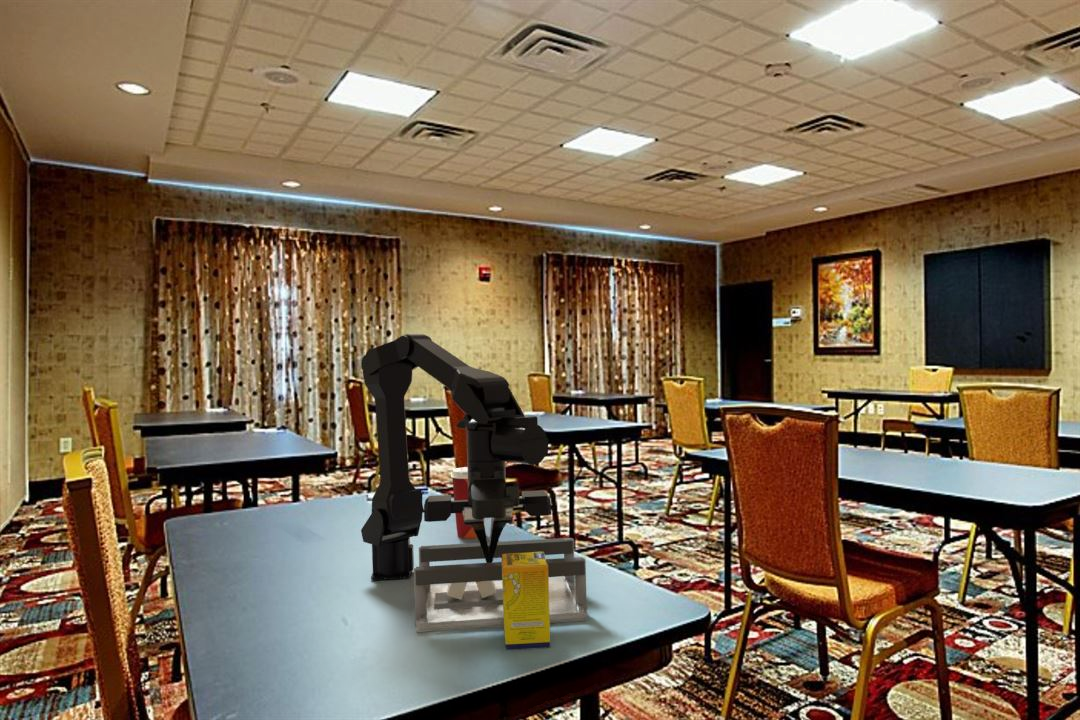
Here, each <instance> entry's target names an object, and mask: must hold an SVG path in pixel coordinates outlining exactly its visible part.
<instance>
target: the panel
mask: <svg viewBox="0 0 1080 720" xmlns="http://www.w3.org/2000/svg"><path fill="white" fill-rule="evenodd" d="M548 580H549V616H550V624H555V623H569V622H570V623H571V622H583V621H584V622H585V621H588V620H589V615H588V613H589V612H588V609H587V610H586V608H584V606H583V604H577V607H576V598H575V585H574V583H572V581H571V580H566V583H565V576H559V577H548ZM494 584H495V588H496V593H494V594H492V595H489V596H487V597H485V598H482V597H481V594H480V592H479V589H478V587H477V584H476V582H467V584H466V587H465V590H464V593H463V596H462V599H461V600H460V599H457V598H453V597H450V596H447V590H448V586H449V583H447V584H431V585H430V591H429V589H426V612H427V617H426V614H424V615H420V617H419V619H417V622H416V626H415V627H416V628H415V631H416V633H423V632H424V633H425V632H426V633H427V632H439V631H442V632H443V631H452V630H453V631H454V630H455V631H456V630H468V629H470V630H471V629H484V628H497V627H504V614H503V585H502V580H495V581H494Z"/></svg>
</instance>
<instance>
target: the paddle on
mask: <svg viewBox="0 0 1080 720" xmlns="http://www.w3.org/2000/svg"><path fill="white" fill-rule="evenodd" d="M467 583H468V582H463V583H448V584H449V586H448V590H447V596H450V597H453V598H457V599H460V600H461V599H462V596H463V593H464V590H465V587H466V584H467Z"/></svg>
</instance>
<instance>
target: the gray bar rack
mask: <svg viewBox="0 0 1080 720" xmlns="http://www.w3.org/2000/svg"><path fill="white" fill-rule="evenodd" d="M574 541H575V540H574V538H572V537H561V538H558V537H557V538H544V539H543V538H541V539H523V540H506V541H505V540H504V541H498V543H497V547H496V550H495V554H494V557H493V559H499V558H500V559H502V554H509V553H529V552H544V554H545V556H553V555H563V557H561V558H545V559H546V563H547V564H548V578H555V577H564V576H565V583H566V580H571V581H572V583H574V585H575V598H576V607H577V604H583V606H584V608H586V610H587V611H588V607H587V605H588V604H587V602H588V601H587V597H588V596H587V569H586V568H587V565H586V562H587V561H586V558H585V557H582V556H581V557H580V556H577V557H576V556H575V546H574V544H575V543H574ZM489 542H490V541H487V544H488V550H489ZM483 559H485V557H484V554H483V551H482V548H481V545H480V542H474V543H473V542H468V543H455V544H454V543H452V544H437V545H436V544H434V545H420V546H419V547H418V564H419V565H418V566H416V567H415V568H413V583H414V584H413V585H414V587H413V588H414V589H413V590H414V591H413V593H414V616H415V617H414V621H415V622H414V623H415V624H414V625H415V626H414V627H416V622H417V619H419V617H420V615H424V614H426V617H427V612H426V589H429V591H430V585H443V584H449V583H463V582H467V583H475V582H479V581H502V561H496V562H495V561H494V562H493V561H492V562H491V563H486V562H478V563H477V562H476V563H475V562H474V563H461V564H460V563H459V564H445V565H444V564H443V565H430V563H431V562H433V563H434V562H445V561H446V562H450V561H468V560H470V561H471V560H483Z"/></svg>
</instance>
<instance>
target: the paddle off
mask: <svg viewBox="0 0 1080 720" xmlns="http://www.w3.org/2000/svg"><path fill="white" fill-rule="evenodd" d="M476 584H477V587H478V589H479V592H480V594H481V597H482V598H485V597H487V596H489V595H492V594H494V593H496V588H495V584H494V581H479V582H476Z"/></svg>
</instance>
